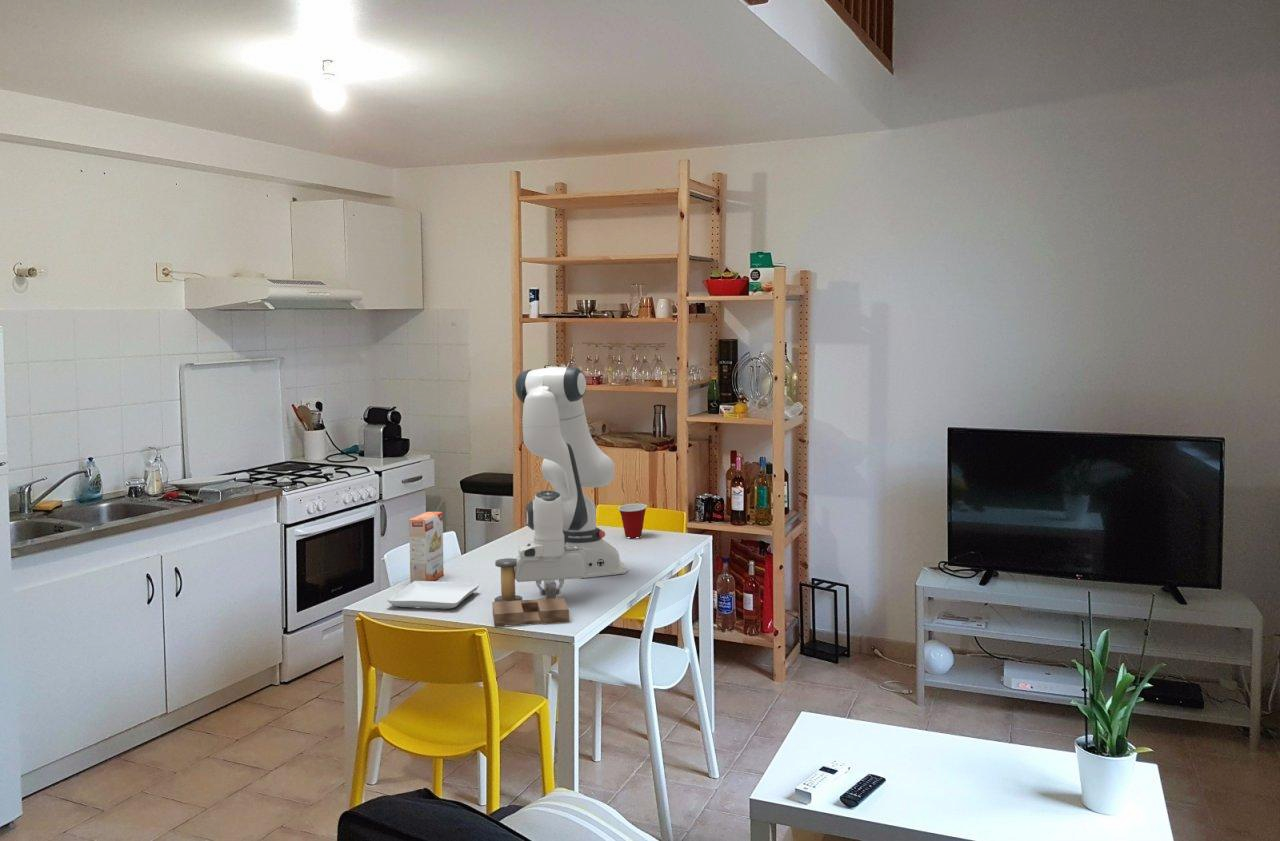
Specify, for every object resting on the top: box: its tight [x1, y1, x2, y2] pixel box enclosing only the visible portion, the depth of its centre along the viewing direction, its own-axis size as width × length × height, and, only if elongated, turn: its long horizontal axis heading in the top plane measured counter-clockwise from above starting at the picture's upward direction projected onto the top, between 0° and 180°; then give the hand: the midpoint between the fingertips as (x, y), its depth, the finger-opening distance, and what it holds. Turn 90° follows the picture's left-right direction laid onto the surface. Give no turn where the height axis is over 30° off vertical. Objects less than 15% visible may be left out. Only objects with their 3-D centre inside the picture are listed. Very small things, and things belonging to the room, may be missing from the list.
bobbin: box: [494, 557, 523, 602], centre depth 298 cm, size 8×8×12 cm
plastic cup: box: [617, 503, 648, 538], centre depth 386 cm, size 11×11×12 cm
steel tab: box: [543, 580, 557, 599], centre depth 300 cm, size 3×5×6 cm, turn 10°
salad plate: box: [386, 580, 480, 610], centre depth 303 cm, size 21×21×3 cm
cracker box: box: [408, 511, 445, 584], centre depth 326 cm, size 14×6×21 cm, turn 168°
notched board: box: [491, 597, 570, 628], centre depth 284 cm, size 20×12×4 cm, turn 101°
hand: (550, 594), depth 300 cm, fingers closed on steel tab, 3 cm apart
